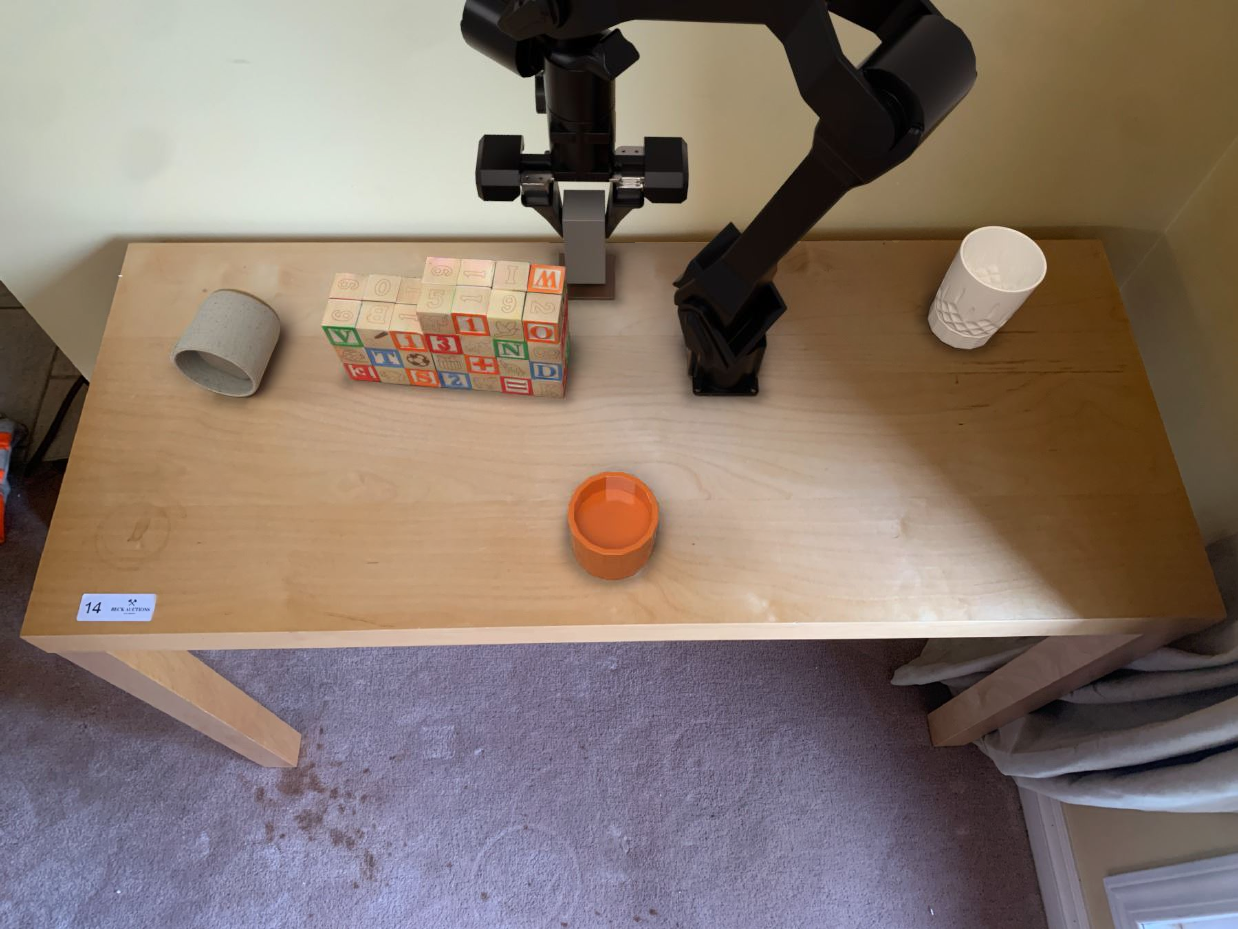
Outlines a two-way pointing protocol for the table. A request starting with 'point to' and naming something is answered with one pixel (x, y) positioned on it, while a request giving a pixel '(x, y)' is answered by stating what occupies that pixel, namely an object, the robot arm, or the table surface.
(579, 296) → the coaster
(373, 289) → the stack of blocks
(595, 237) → the block
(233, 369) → the ceramic mug
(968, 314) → the white cup
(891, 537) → the table surface
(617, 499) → the cup
